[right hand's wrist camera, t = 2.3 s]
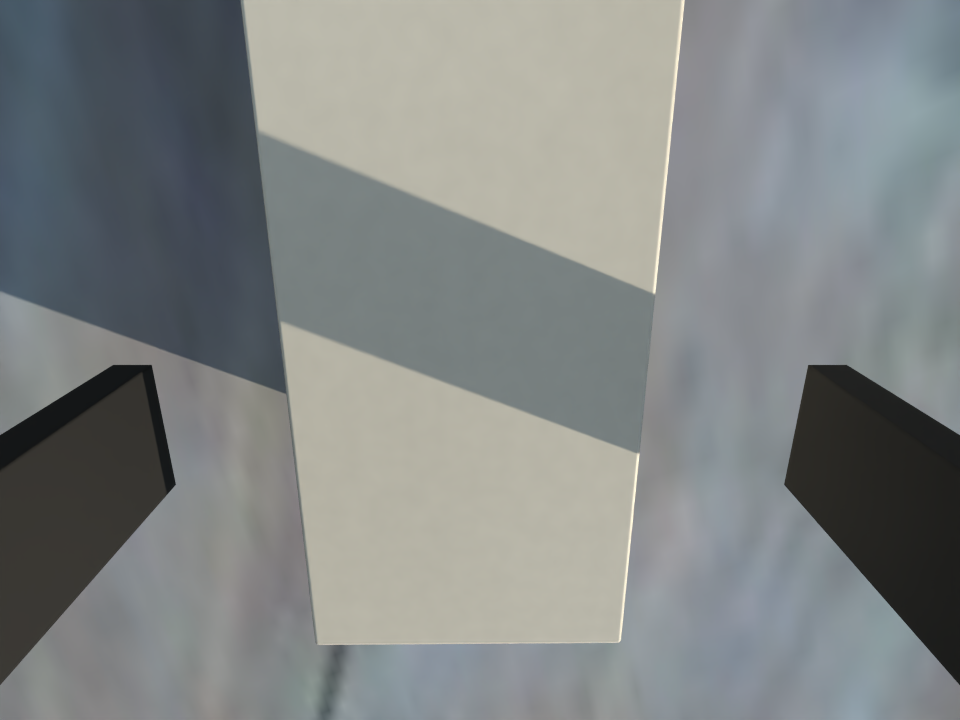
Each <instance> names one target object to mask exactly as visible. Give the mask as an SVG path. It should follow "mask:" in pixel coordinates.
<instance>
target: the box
mask: <svg viewBox="0 0 960 720" xmlns="http://www.w3.org/2000/svg"><path fill="white" fill-rule="evenodd" d="M240 1H241V9H242V18H243V26H244V35H245V44H246V52H247V61H248V69H249V78H250V86H251V95H252V104H253V112H254V121H255V129H256V138H257V146H258V155H259V163H260V172H261V181H262V189H263V198H264V206H265V215H266V223H267V232H268V240H269V249H270V258H271V266H272V275H273V283H274V292H275V300H276V309H277V318H278V326H279V335H280V343H281V352H282V360H283V369H284V377H285V386H286V395H287V403H288V412H289V420H290V429H291V437H292V446H293V454H294V463H295V472H296V480H297V489H298V497H299V506H300V514H301V523H302V532H303V540H304V549H305V557H306V566H307V574H308V583H309V591H310V600H311V609H312V617H313V626H314V634H315V642H316V644H318V645H359V644H497V643H618V642H620V640H621V632H622V622H623V612H624V602H625V592H626V582H627V572H628V562H629V552H630V542H631V532H632V522H633V512H634V502H635V492H636V482H637V472H638V462H639V452H640V442H641V432H642V421H643V411H644V401H645V391H646V381H647V371H648V361H649V351H650V341H651V331H652V321H653V311H654V301H655V291H656V281H657V271H658V261H659V251H660V241H661V231H662V221H663V211H664V200H665V190H666V180H667V170H668V160H669V150H670V140H671V130H672V120H673V110H674V100H675V90H676V80H677V70H678V60H679V50H680V40H681V30H682V20H683V10H684V0H240Z"/></svg>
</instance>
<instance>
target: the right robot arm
mask: <svg viewBox="0 0 960 720" xmlns="http://www.w3.org/2000/svg"><path fill="white" fill-rule="evenodd" d="M175 485H176V484H175V479H174V474H173V469H172V464H171V459H170V454H169V449H168V444H167V439H166V434H165V429H164V424H163V419H162V414H161V409H160V404H159V399H158V394H157V389H156V384H155V379H154V374H153V370H152V365H113V366H111V367H109V368H108V369H106V370H105V371H103V372H101V373H100V374H98V375H96V376H95V377H93V378H92V379H90V380H88V381H87V382H85V383H84V384H82V385H80V386H79V387H77V388H76V389H74V390H72V391H71V392H69V393H67V394H66V395H64V396H63V397H61V398H59V399H58V400H56V401H55V402H53V403H51V404H50V405H48V406H47V407H45V408H43V409H42V410H40V411H39V412H37V413H35V414H34V415H32V416H30V417H29V418H27V419H26V420H24V421H22V422H21V423H19V424H18V425H16V426H14V427H13V428H11V429H10V430H8V431H6V432H5V433H3V434H1V435H0V685H1V683H2V682H3V681H4V680H5V679H6V678H7V677H8V675H9V674H10V673H11V672H12V671H13V670H14V669H15V667H16V666H17V665H18V664H19V663H20V662H21V661H22V659H23V658H24V657H25V656H26V655H27V654H28V653H29V651H30V650H31V649H32V648H33V647H34V646H35V645H36V643H37V642H38V641H39V640H40V639H41V638H42V637H43V636H44V634H45V633H46V632H47V631H48V630H49V629H50V628H51V626H52V625H53V624H54V623H55V622H56V621H57V620H58V618H59V617H60V616H61V615H62V614H63V613H64V612H65V610H66V609H67V608H68V607H69V606H70V605H71V604H72V602H73V601H74V600H75V599H76V598H77V597H78V596H79V594H80V593H81V592H82V591H83V590H84V589H85V588H86V586H87V585H88V584H89V583H90V582H91V581H92V580H93V578H94V577H95V576H96V575H97V574H98V573H99V572H100V570H101V569H102V568H103V567H104V566H105V565H106V564H107V562H108V561H109V560H110V559H111V558H112V557H113V556H114V554H115V553H116V552H117V551H118V550H119V549H120V548H121V546H122V545H123V544H124V543H125V542H126V541H127V540H128V539H129V537H130V536H131V535H132V534H133V533H134V532H135V531H136V529H137V528H138V527H139V526H140V525H141V524H142V523H143V521H144V520H145V519H146V518H147V517H148V516H149V515H150V513H151V512H152V511H153V510H154V509H155V508H156V507H157V505H158V504H159V503H160V502H161V501H162V500H163V499H164V497H165V496H166V495H167V494H168V493H169V492H170V491H171V489H172V488H173V487H174V486H175ZM784 485H785V486H786V487H787V488H788V489H789V491H790V492H791V493H792V494H793V495H794V496H795V497H796V499H797V500H798V501H799V502H800V503H801V504H802V505H803V507H804V508H805V509H806V510H807V511H808V512H809V513H810V515H811V516H812V517H813V518H814V519H815V520H816V521H817V523H818V524H819V525H820V526H821V527H822V528H823V529H824V531H825V532H826V533H827V534H828V535H829V536H830V537H831V539H832V540H833V541H834V542H835V543H836V544H837V545H838V546H839V548H840V549H841V550H842V551H843V552H844V553H845V554H846V556H847V557H848V558H849V559H850V560H851V561H852V562H853V564H854V565H855V566H856V567H857V568H858V569H859V570H860V572H861V573H862V574H863V575H864V576H865V577H866V578H867V580H868V581H869V582H870V583H871V584H872V585H873V586H874V588H875V589H876V590H877V591H878V592H879V593H880V594H881V596H882V597H883V598H884V599H885V600H886V601H887V602H888V604H889V605H890V606H891V607H892V608H893V609H894V610H895V612H896V613H897V614H898V615H899V616H900V617H901V618H902V620H903V621H904V622H905V623H906V624H907V625H908V626H909V628H910V629H911V630H912V631H913V632H914V633H915V634H916V636H917V637H918V638H919V639H920V640H921V641H922V642H923V643H924V645H925V646H926V647H927V648H928V649H929V650H930V651H931V653H932V654H933V655H934V656H935V657H936V658H937V659H938V661H939V662H940V663H941V664H942V665H943V666H944V667H945V669H946V670H947V671H948V672H949V673H950V674H951V675H952V677H953V678H954V679H955V680H956V681H957V682H958V683H959V685H960V435H959V434H957V433H955V432H954V431H952V430H950V429H949V428H947V427H946V426H944V425H942V424H941V423H939V422H938V421H936V420H934V419H933V418H931V417H930V416H928V415H926V414H925V413H923V412H921V411H920V410H918V409H917V408H915V407H913V406H912V405H910V404H909V403H907V402H905V401H904V400H902V399H901V398H899V397H897V396H896V395H894V394H893V393H891V392H889V391H888V390H886V389H884V388H883V387H881V386H880V385H878V384H876V383H875V382H873V381H872V380H870V379H868V378H867V377H865V376H864V375H862V374H860V373H859V372H857V371H855V370H854V369H852V368H851V367H849V366H847V365H808V370H807V374H806V379H805V384H804V389H803V394H802V399H801V404H800V409H799V414H798V419H797V424H796V429H795V434H794V439H793V444H792V449H791V454H790V459H789V464H788V469H787V474H786V479H785V484H784Z"/></svg>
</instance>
